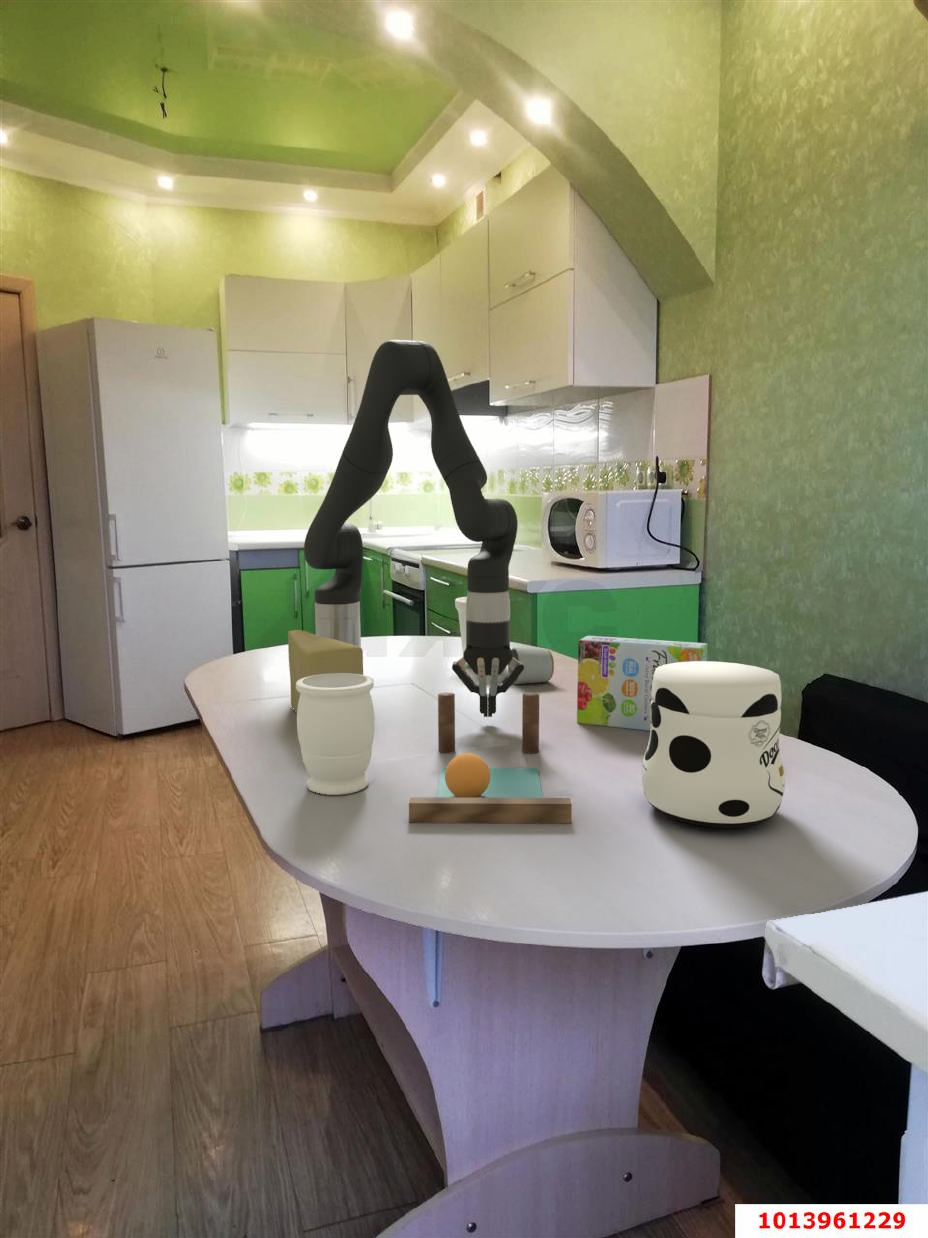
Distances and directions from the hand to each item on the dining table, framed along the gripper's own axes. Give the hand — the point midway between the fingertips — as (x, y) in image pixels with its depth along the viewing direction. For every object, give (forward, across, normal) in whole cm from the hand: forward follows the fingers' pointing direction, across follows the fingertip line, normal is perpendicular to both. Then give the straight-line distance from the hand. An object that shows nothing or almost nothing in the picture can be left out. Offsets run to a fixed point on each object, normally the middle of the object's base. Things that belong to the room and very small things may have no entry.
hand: (488, 715), depth 149 cm
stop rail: (+2, 0, -43) cm, 43 cm away
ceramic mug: (+2, +8, +33) cm, 34 cm away
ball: (-2, -3, -36) cm, 36 cm away
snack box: (+2, +26, -1) cm, 26 cm away
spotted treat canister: (+2, +28, -40) cm, 49 cm away
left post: (+2, -7, -15) cm, 16 cm away
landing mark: (+2, 0, -31) cm, 31 cm away
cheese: (+2, -31, +3) cm, 31 cm away
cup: (+2, -1, +49) cm, 49 cm away
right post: (+2, +7, -15) cm, 16 cm away
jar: (+2, -21, -31) cm, 37 cm away
